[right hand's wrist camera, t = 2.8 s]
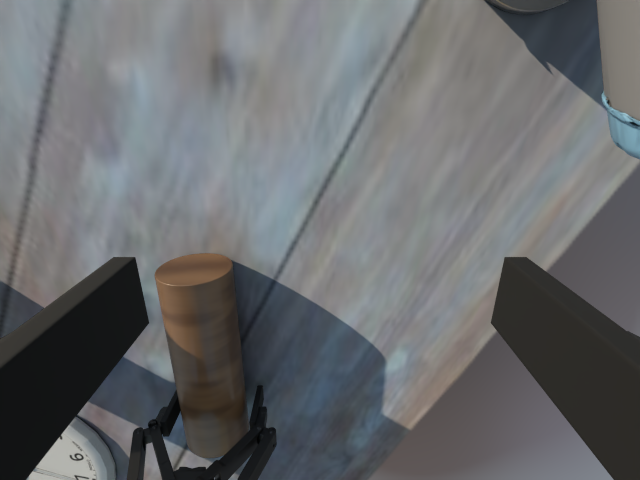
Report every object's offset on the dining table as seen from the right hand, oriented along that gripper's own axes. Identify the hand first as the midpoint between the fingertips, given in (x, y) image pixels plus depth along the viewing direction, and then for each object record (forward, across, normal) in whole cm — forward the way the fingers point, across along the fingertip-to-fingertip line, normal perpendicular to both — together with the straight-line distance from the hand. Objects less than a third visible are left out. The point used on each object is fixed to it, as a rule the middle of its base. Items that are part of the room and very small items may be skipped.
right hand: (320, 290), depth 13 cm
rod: (+31, -15, -26) cm, 43 cm away
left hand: (+30, -15, -35) cm, 49 cm away
